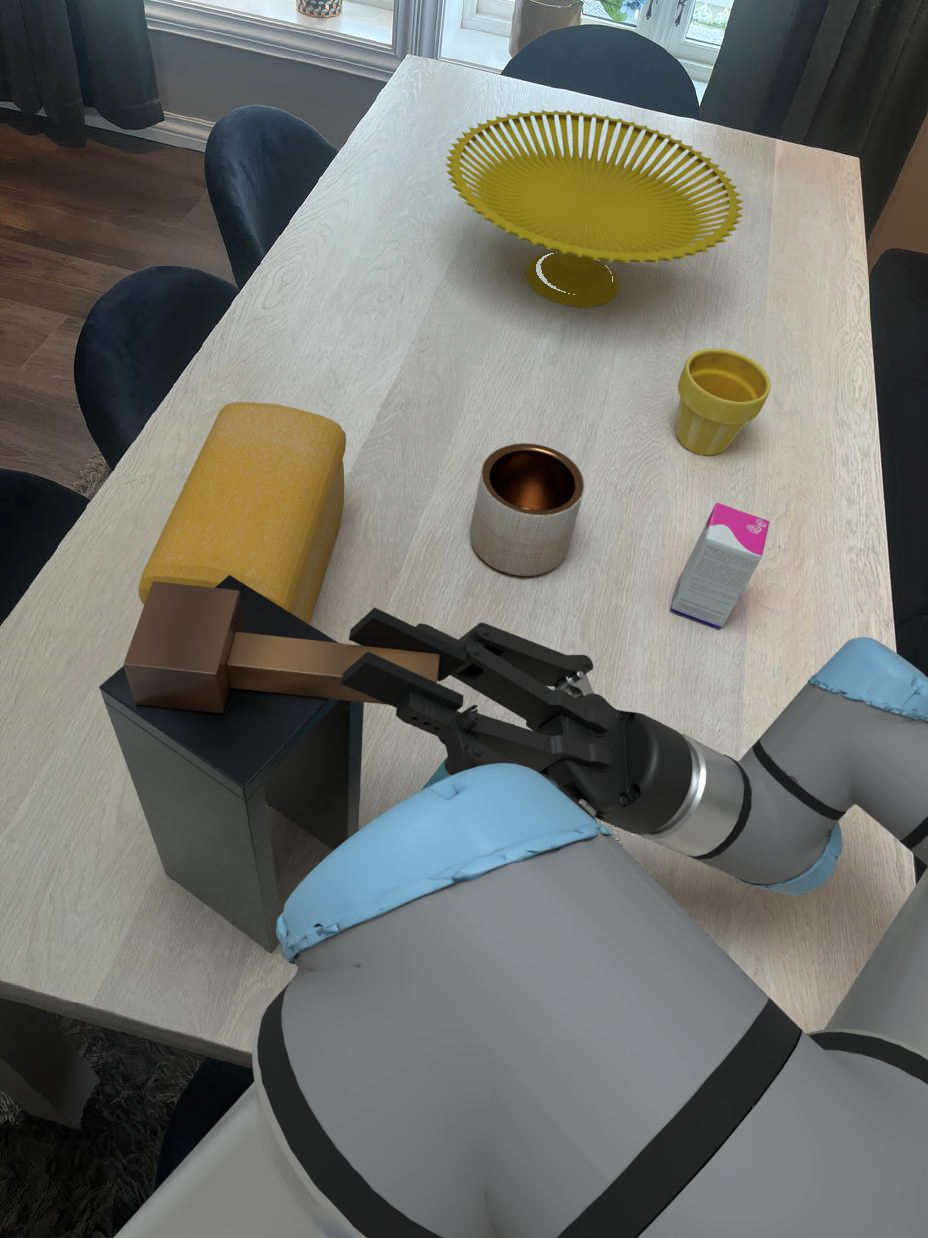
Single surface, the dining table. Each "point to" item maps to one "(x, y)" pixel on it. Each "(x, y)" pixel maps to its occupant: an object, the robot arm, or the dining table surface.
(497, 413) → the dining table surface
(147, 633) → the mallet
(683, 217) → the cake stand
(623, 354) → the dining table surface
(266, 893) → the black arch block
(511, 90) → the dining table surface
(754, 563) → the supplement box
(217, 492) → the bread
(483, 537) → the planter
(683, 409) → the flower pot
